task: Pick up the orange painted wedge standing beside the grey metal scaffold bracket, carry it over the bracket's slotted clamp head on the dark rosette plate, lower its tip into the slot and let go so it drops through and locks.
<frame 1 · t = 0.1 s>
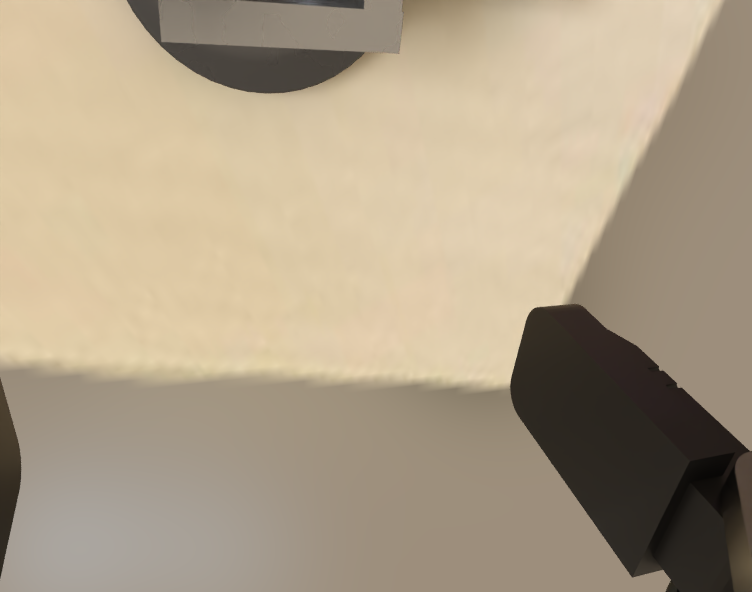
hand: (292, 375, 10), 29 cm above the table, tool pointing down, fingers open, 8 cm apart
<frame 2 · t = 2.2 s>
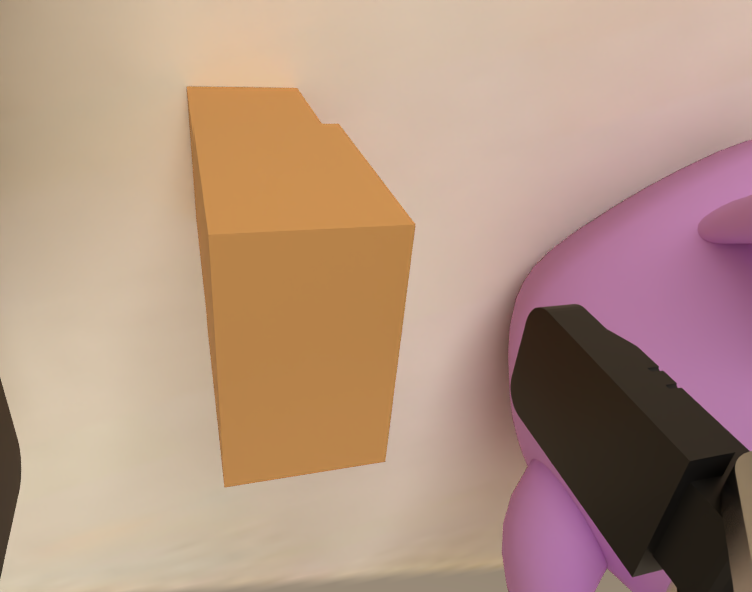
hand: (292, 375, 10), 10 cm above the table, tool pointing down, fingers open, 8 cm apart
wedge: (245, 157, 18), on the table
teapot: (642, 324, 27), on the table
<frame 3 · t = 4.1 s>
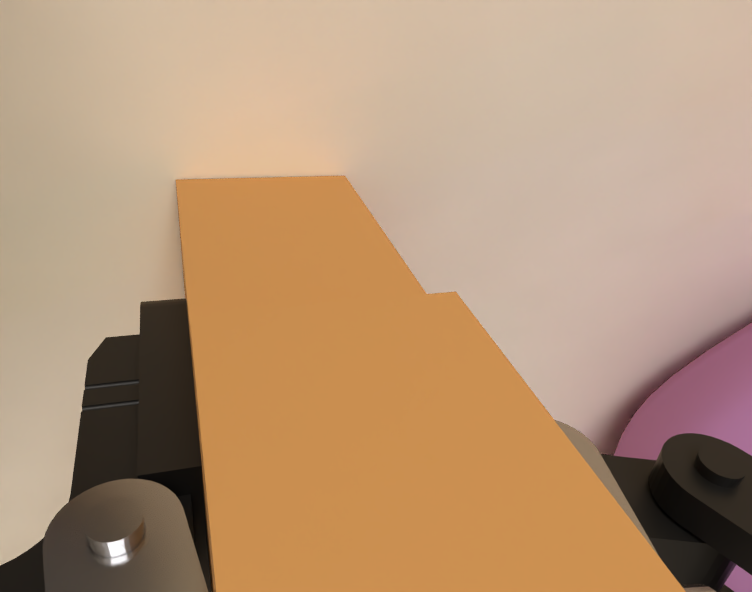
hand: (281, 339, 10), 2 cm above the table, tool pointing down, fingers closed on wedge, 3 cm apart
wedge: (264, 274, 12), on the table, touching gripper
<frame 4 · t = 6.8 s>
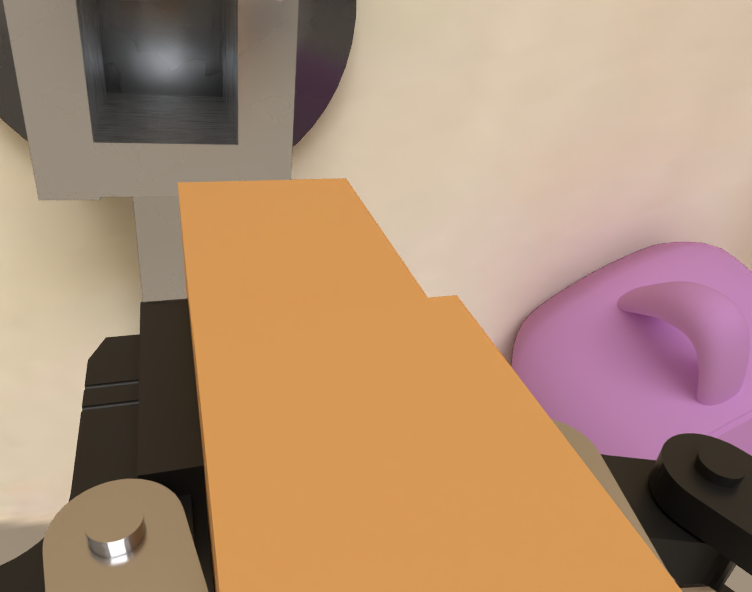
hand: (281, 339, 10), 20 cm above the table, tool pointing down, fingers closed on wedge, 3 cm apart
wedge: (265, 277, 12), point 17 cm above the table, touching gripper
teapot: (595, 350, 43), on the table
when the fingers open (8 cm above the table, at t = 9.8 s): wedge drops 4 cm, resting on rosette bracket.
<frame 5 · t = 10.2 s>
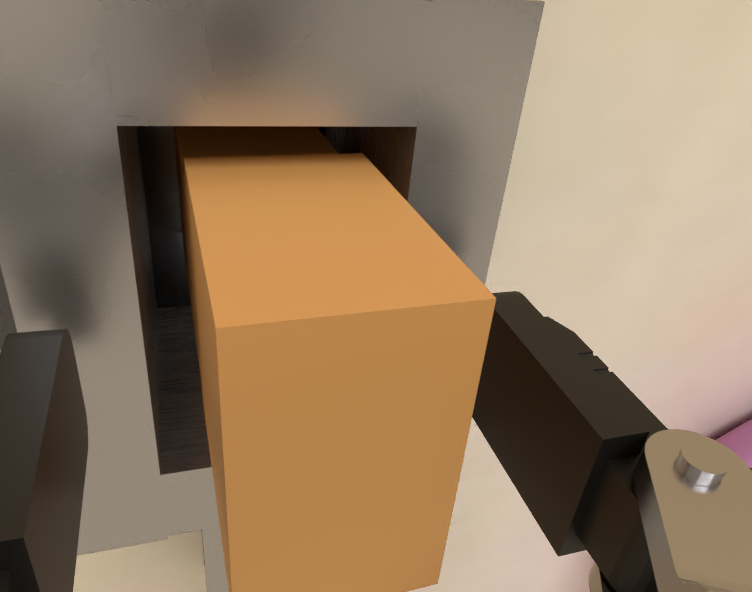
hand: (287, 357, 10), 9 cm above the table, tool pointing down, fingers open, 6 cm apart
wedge: (240, 188, 16), point 2 cm above the table, touching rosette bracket
teapot: (723, 493, 36), on the table
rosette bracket: (230, 166, 17), on the table
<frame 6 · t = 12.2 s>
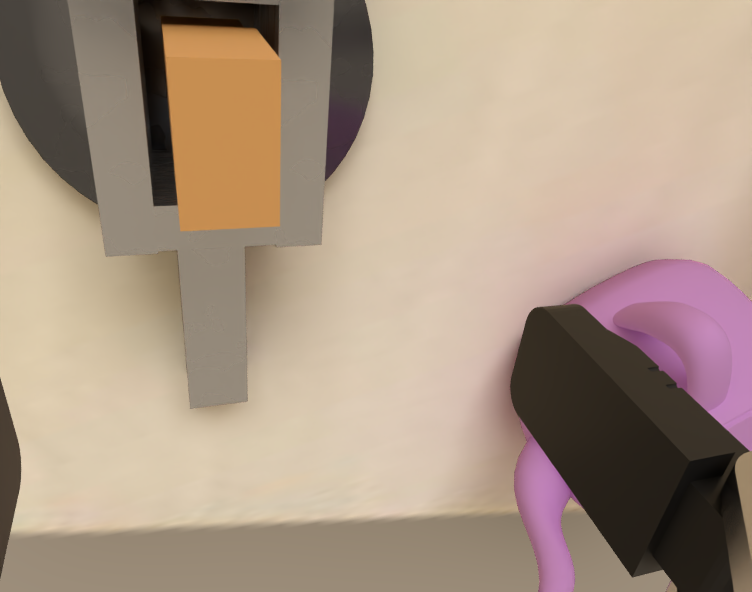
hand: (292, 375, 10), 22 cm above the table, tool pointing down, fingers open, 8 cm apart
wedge: (202, 69, 26), point 1 cm above the table, touching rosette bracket
teapot: (594, 358, 46), on the table
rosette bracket: (198, 62, 27), on the table
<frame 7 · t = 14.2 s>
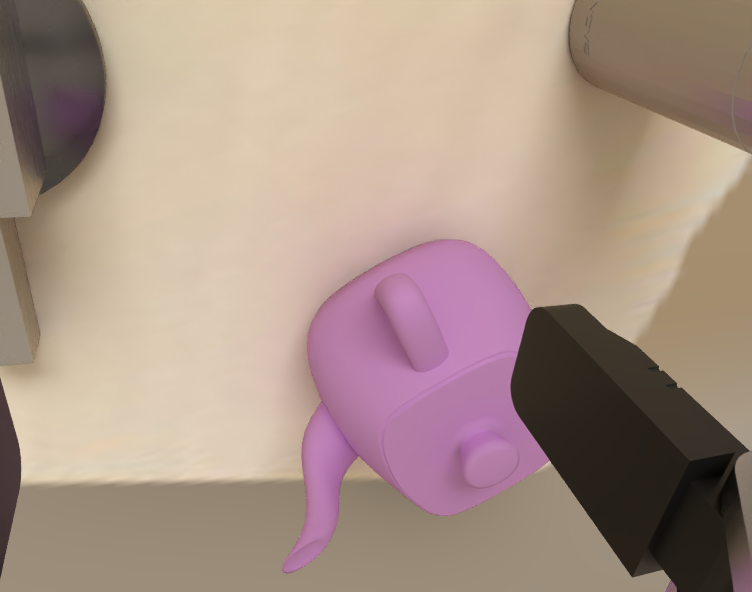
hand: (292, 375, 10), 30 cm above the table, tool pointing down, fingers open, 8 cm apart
teapot: (402, 332, 50), on the table
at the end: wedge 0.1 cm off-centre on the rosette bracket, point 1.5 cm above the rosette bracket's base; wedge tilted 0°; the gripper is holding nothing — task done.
